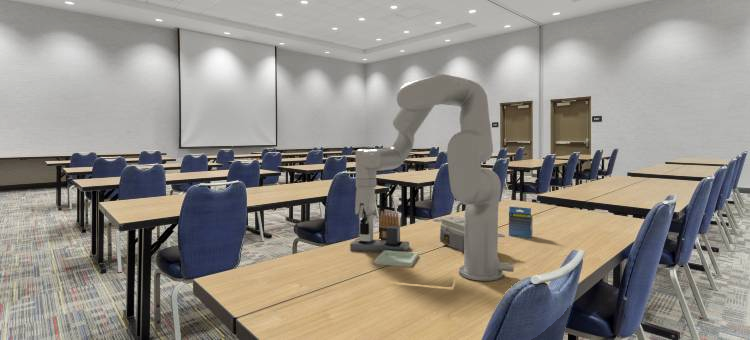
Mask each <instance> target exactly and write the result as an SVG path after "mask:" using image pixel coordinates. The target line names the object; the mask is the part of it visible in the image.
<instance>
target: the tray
mask: <svg viewBox="0 0 750 340" xmlns="http://www.w3.org/2000/svg"><path fill="white" fill-rule="evenodd" d="M418 257H419V252H415V251H407V252H403V251H389V250H384V251H383V252H382V253H380V254H379V255H377V257H376V258H375V259H374V263H373V264H374V265H382V266H383V265H384V266H395V267H407V268H408V267H410V268H411V267H412V266H413V265H414V264H415V262H416V260H417V259H418Z"/></svg>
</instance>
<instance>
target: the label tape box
mask: <svg viewBox="0 0 750 340" xmlns="http://www.w3.org/2000/svg"><path fill="white" fill-rule="evenodd" d="M508 210H509V211H508V236H509V237H517V236H518V237H519V238H520V237H521V238H528V239H529V238H530V239H531V238H532V237H533V215H532V208H531V207H519V206H509V209H508ZM519 210H520V211H519Z"/></svg>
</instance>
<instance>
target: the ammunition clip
mask: <svg viewBox="0 0 750 340" xmlns="http://www.w3.org/2000/svg"><path fill="white" fill-rule="evenodd" d="M379 219H380V220H379V227H378V240H379V239H381V240H386V228H387V227H388V226H400V222H399V214H398V213H397V212H396V213H395V212H393V213H392V212H391V211H390V212H389V211H387V212H386V210H384V211H383V210H381V211H380V218H379Z"/></svg>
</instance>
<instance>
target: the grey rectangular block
mask: <svg viewBox="0 0 750 340" xmlns="http://www.w3.org/2000/svg"><path fill="white" fill-rule="evenodd" d="M363 215H366V213H364V214H363ZM365 219H366V217H365ZM358 220H359V221H358V223H359V226H358V227H359V233H358V234H359V238H358V239H359V240H360V241H371V240H372V239H374V214H373V215H372V213H371V214H369V215H368V224H369V234H368V235H364V234H360V219H358Z"/></svg>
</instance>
